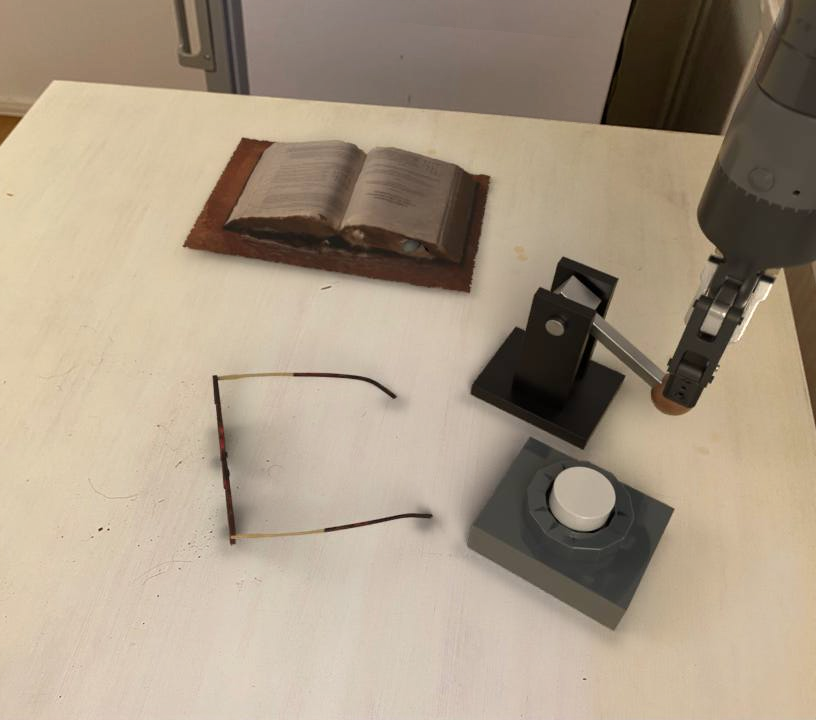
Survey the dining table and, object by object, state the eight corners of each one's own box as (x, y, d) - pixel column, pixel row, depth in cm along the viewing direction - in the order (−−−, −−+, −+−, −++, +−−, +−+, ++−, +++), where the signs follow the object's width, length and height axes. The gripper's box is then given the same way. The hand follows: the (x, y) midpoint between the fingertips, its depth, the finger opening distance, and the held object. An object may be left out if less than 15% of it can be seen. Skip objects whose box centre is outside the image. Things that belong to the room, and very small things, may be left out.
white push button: (618, 498, 55) (625, 484, 54) (595, 542, 53) (601, 528, 52) (563, 471, 57) (568, 456, 55) (538, 512, 54) (543, 498, 53)
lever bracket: (622, 385, 68) (663, 281, 59) (583, 450, 63) (622, 348, 54) (513, 336, 71) (537, 231, 63) (470, 394, 67) (489, 291, 58)
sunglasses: (214, 410, 66) (211, 370, 62) (390, 393, 69) (398, 353, 65) (232, 570, 57) (230, 534, 53) (435, 543, 59) (447, 506, 56)
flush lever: (682, 402, 62) (713, 386, 59) (667, 430, 60) (699, 415, 57) (553, 289, 62) (579, 268, 59) (535, 314, 60) (560, 293, 58)
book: (470, 301, 75) (477, 262, 71) (181, 253, 78) (175, 214, 75) (489, 184, 88) (496, 147, 85) (242, 148, 92) (240, 111, 89)
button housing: (661, 531, 59) (683, 494, 55) (614, 631, 54) (634, 598, 50) (522, 460, 63) (534, 421, 59) (467, 547, 58) (475, 510, 54)
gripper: (834, 258, 39) (721, 454, 51) (892, 123, 47) (782, 321, 59) (680, 206, 42) (608, 403, 54) (759, 86, 50) (680, 282, 62)
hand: (699, 360), depth 56 cm, fingers open, 8 cm apart
